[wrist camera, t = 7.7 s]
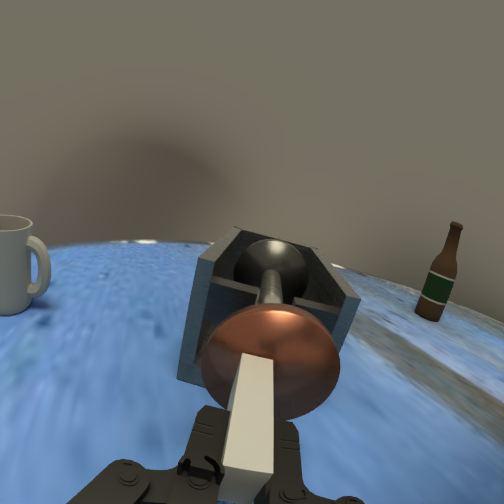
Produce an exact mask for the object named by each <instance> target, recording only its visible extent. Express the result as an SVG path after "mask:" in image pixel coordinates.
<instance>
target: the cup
mask: <svg viewBox="0 0 504 504" xmlns="http://www.w3.org/2000/svg"><path fill="white" fill-rule="evenodd" d="M31 252H33V253H34V254H35V256H36V258H37V262H38V278H37V281H36V283H31ZM50 279H51V263H50V256H49V253H48V251H47V248H46V246H45V245H44V244H43V242H42V241H41V240H39V239H38V238H36V237H34V236H32V221H31V220H29V219H27V218H23V217H19V216H13V215H0V315H1V316H9V315H15V314H18V313H20V312H22V311H24V310H25V309H27V307H28V306H29V305H30V303H31V300H32V298H34V297H39V296H42V295H43V294H44V293H45V292H46V291H47V289H48V287H49V284H50Z"/></svg>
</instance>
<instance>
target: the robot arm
mask: <svg viewBox="0 0 504 504" xmlns="http://www.w3.org/2000/svg"><path fill="white" fill-rule="evenodd" d="M299 450H300V445H299V435H298V430H297V429H296V427H295V425H294V424H293V422H288V421H282V420H275V419H274V417H273V360H271V359H266V358H262V357H257V356H253V355H249V354H245V353H242V356H241V359H240V363H239V366H238V369H237V373H236V376H235V379H234V383H233V386H232V389H231V393H230V397H229V402H228V407H227V410H223V409H219V408H216V407H212V406H208V405H205V406H204V407H203V408H202V409H201V410H200V411H198V413H197V416H196V419H195V423H194V426H193V429H192V432H191V435H190V438H189V441H188V444H187V447H186V450H185V453H184V456H182V457H181V459H180V460H179V462H178V466H176V467H174V468H172V469H169V470H149V469H145V468H144V467H143V466H142V465H140V464H139V463H137V462H134V461H132V460H126V459H121V460H115V461H114V462H112V463H110V464H109V465H108V466H107V467H106V468H105V469H104V470H103V471H102V472H101V473H100V474H99V475H97V476H96V477H95V478H94V479H93V480H92V481H91V482H90V483H89V484H88V485H87V486H86V487H84V488H83V489H82V490H81V491H80V492H79V493H78V494H77V495H76V496H74V497H73V498H72V499H71V500H70V501H69V502H68V503H67V504H217V500H220V501H225V502H231V503H237V504H252V503H253V501H254V504H365V503H364V502H363V501H362V500H360V499H358V498H357V497H353V496H343V497H341V498H339V499H337V500H336V501H335V500H331V499H327V498H323V497H320V496H317V495H315V494H313V493H311V492H310V491H309V490H308V489H307V487H306V486H305V485H304V483H303V479H302V468H301V457H300V451H299Z"/></svg>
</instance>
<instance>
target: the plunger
mask: <svg viewBox="0 0 504 504" xmlns="http://www.w3.org/2000/svg"><path fill="white" fill-rule="evenodd" d="M308 279H309V275H308V268H307V265H306V263H305V260H304V259H303V257H302V255H301V254H300V252H299V251H298V250H297V249H296V248H295V247H293V246H292V245H290V244H289V243H287V242H284V241H281V240H277V239H265V240H261V241H258V242H255V243H253V244H251V245H250V246H248V247H247V248H246V249H245V250H244V251H243V252H242V253H241V255H240V256H239V258H238V260H237V262H236V264H235V268H234V272H233V281H235V282H239V283H242V284H246V285H250V286H254V287H258V294H257V298H256V301H255V305H251V306H248V307H245V308H242V309H240V310H238V311H235V312H234V313H232V314H230V315H229V316H227V317H226V318H225V319H224V320H222V321H221V322H220V323H219V324H218V325H217V327H216V328H215V329H214V331H213V332H212V334H211V336H210V338H209V340H208V342H207V345H206V347H205V350H204V352H203V355H202V359H201V375H202V380H203V382H204V385H205V387H206V389H207V391H208V392H209V394H210V395H211V396H212V398H213V399H214V400H215V401H216V402H217V403H218V404H219V405H221V406H222V407H223V408H224V409H226V410H227V407H228V402H229V397H230V393H231V389H232V386H233V383H234V379H235V376H236V373H237V369H238V366H239V363H240V359H241V356H242V353H245V354H249V355H253V356H257V357H262V358H266V359H271V360H273V417H274V419H275V420H282V421H286V420H290V419H294V418H297V417H300V416H302V415H305V414H307V413H309V412H311V411H312V410H314V409H315V408H317V407H318V406H319V405H321V404H322V403H323V402H324V401H325V400H326V399H327V398H328V397H329V395H330V394H331V393H332V391H333V389H334V388H335V386H336V384H337V381H338V378H339V374H340V358H339V354H338V351H337V348H336V346H335V343H334V341H333V338H332V336H331V334H330V332H329V331H328V329H327V328H326V326H325V325H324V324H323V323H322V322H321V321H320V320H319V319H318V318H316V317H315V316H314V315H312V314H311V313H309V312H307V311H305V310H303V309H301V308H298V307H295V306H292V302H293V299H294V297H297V298H302V297H303V295H304V293H305V291H306V289H307V285H308Z"/></svg>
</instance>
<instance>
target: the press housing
mask: <svg viewBox="0 0 504 504" xmlns="http://www.w3.org/2000/svg"><path fill="white" fill-rule="evenodd" d="M265 239H277V240H281V241H284V242H287V243H289V244H290V245H292V246H293V247H295V248H296V249H297V250H298V251H299V252H300V254H301V255H302V257H303V259H304V260H305V263H306V265H307V268H308V275H309V279H308V285H307V289H306V291H305V293H304V295H303V297H302V298H297V297H294V299H293V302H292V306H295V307H298V308H301V309H303V310H305V311H307V312H309V313H311V314H312V315H314V316H315V317H316V318H318V319H319V320H320V321H321V322H322V323H323V324H324V325H325V326H326V328H327V329H328V331H329V332H330V334H331V336H332V338H333V341H334V343H335V346H336V348H337V351H338V354H339V352H340V350H341V347H342V345H343V343H344V340H345V338H346V336H347V333H348V331H349V329H350V326H351V324H352V321H353V319H354V316H355V314H356V311H357V308H358V306H359V303H360V301H361V299H360V297H359V296H358V295H357V294H356V292H355V291H354V290H353V289H352V288H351V287H350V285H349V284H348V283H347V282H346V281H345V279H344V278H343V277H342V276H341V275H340V274H339V272H338V271H337V270H336V269H335V268H334V267H333V265H332V264H331V263H330V262H329V261H328V260H327V259H326V258H325V256H324V255H323V254H322V253H321V252H320V251H319V250H318V249H317V248H314V247H311V246H307V245H303V244H300V243H296V242H292V241H288V240H284V239H281V238H277V237H273V236H269V235H266V234H262V233H258V232H254V231H251V230H247V229H243V228H239V227H235V226H234V227H233V228H232V229H231V230H229V231H228V232H227V233H226V234H225V235H224V236H222V237H221V238H220V239H219V240H218V241H217V242H215V243H214V244H213V245H212V246H211V247H210V248H208V249H207V250H206V251H205V252H204V253H203V254H201V255H200V256H199V257H198V261H197V266H196V271H195V276H194V281H193V286H192V291H191V296H190V301H189V307H188V312H187V318H186V323H185V329H184V335H183V341H182V347H181V353H180V359H179V366H178V372H177V379H179V380H182V381H185V382H188V383H192V384H195V385H198V386H202V387H205V385H204V382H203V380H202V375H201V359H202V355H203V352H204V350H205V347H206V345H207V342H208V340H209V338H210V336H211V334H212V332H213V331H214V329H215V328H216V327H217V325H218V324H219V323H220V322H221V321H222V320H224V319H225V318H226V317H227V316H229V315H230V314H232V313H234V312H235V311H238V310H240V309H242V308H245V307H248V306H251V305H255V301H256V298H257V294H258V287H254V286H250V285H246V284H242V283H239V282H235V281H233V272H234V268H235V264H236V262H237V260H238V258H239V256H240V255H241V253H242V252H243V251H244V250H245V249H246V248H247V247H248V246H250V245H251V244H253V243H255V242H258V241H261V240H265ZM205 388H206V387H205Z"/></svg>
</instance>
